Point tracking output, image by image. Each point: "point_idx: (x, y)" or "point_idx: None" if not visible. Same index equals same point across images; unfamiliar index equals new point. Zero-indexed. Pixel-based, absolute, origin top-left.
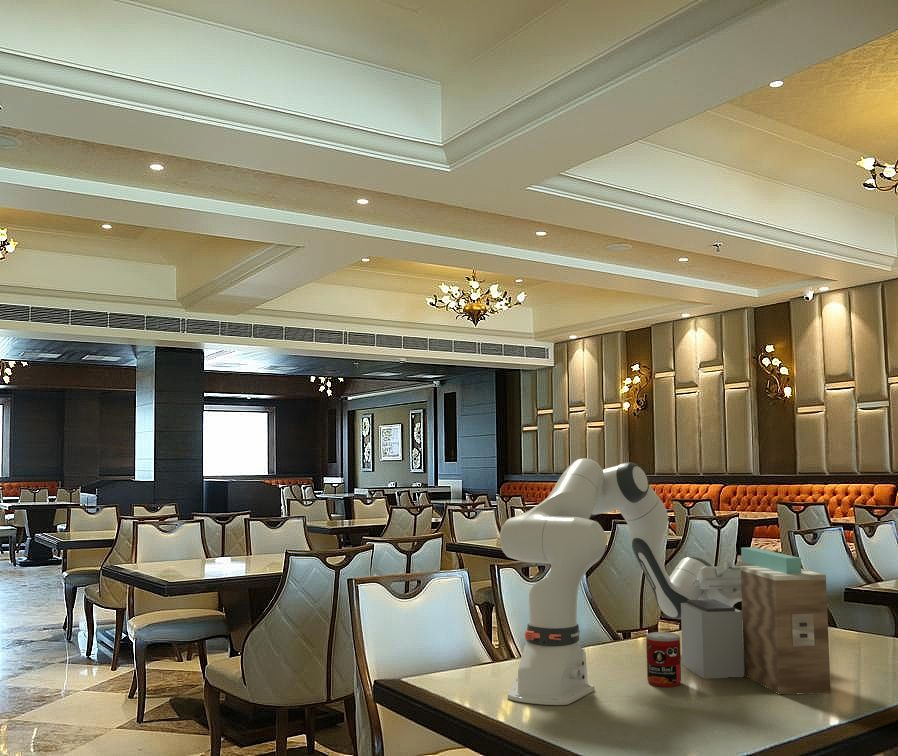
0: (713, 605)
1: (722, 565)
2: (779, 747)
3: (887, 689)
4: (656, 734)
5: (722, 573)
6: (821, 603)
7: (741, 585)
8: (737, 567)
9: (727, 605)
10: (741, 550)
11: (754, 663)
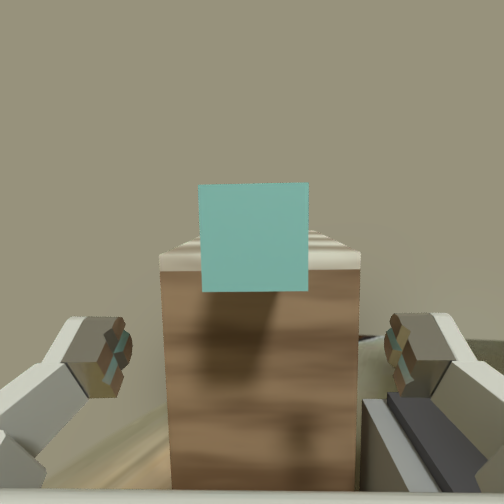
0: None
1: (483, 369)
2: (366, 336)
3: (95, 450)
4: (487, 356)
5: (481, 448)
6: None
7: (358, 327)
8: (274, 494)
9: (416, 426)
10: (308, 204)
11: None
